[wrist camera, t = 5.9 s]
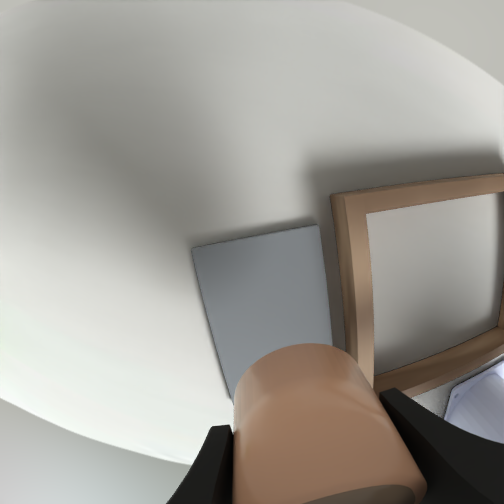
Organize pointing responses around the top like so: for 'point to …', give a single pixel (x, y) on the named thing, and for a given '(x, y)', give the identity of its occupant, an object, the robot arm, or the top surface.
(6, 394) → the top surface
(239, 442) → the terracotta pot
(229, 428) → the robot arm
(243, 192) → the top surface
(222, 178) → the top surface
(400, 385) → the frame
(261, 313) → the mat
